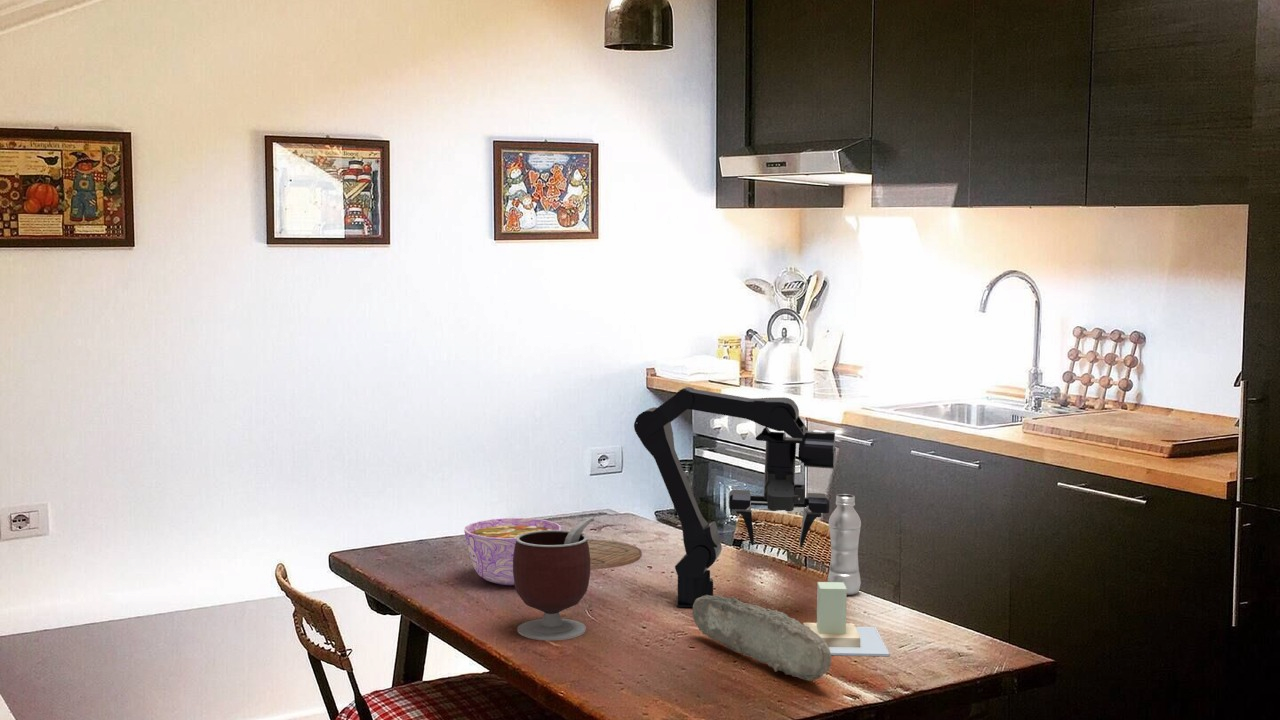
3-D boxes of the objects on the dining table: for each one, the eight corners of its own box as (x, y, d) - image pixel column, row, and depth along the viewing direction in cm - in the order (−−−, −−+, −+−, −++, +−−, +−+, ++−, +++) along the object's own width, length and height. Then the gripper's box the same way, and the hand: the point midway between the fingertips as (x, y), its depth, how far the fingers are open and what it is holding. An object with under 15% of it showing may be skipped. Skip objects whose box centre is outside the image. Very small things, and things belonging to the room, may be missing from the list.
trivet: (599, 579, 272) (599, 570, 271) (506, 563, 285) (506, 555, 285) (663, 556, 292) (663, 548, 292) (573, 542, 306) (573, 534, 306)
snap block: (819, 633, 226) (820, 588, 225) (816, 626, 231) (817, 582, 230) (845, 634, 226) (846, 589, 225) (842, 626, 230) (843, 582, 230)
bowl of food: (446, 589, 262) (445, 533, 261) (493, 567, 280) (493, 514, 279) (534, 600, 254) (534, 542, 253) (577, 576, 273) (577, 522, 272)
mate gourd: (535, 647, 224) (535, 533, 222) (499, 627, 236) (499, 518, 234) (612, 633, 232) (612, 523, 230) (574, 615, 244) (574, 510, 242)
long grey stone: (682, 640, 229) (683, 585, 228) (706, 635, 232) (706, 580, 231) (819, 696, 200) (820, 633, 199) (844, 690, 203) (845, 627, 202)
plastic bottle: (840, 600, 255) (842, 500, 254) (820, 592, 261) (822, 494, 260) (867, 596, 258) (869, 497, 257) (846, 588, 264) (848, 491, 263)
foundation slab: (807, 646, 224) (808, 637, 224) (803, 631, 233) (803, 622, 233) (860, 647, 224) (860, 638, 223) (853, 632, 233) (853, 623, 232)
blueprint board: (783, 654, 221) (783, 652, 221) (776, 627, 236) (776, 625, 236) (889, 656, 220) (889, 653, 220) (875, 628, 236) (875, 626, 236)
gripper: (731, 470, 237) (728, 554, 239) (834, 474, 236) (830, 558, 238) (730, 460, 248) (727, 540, 250) (828, 464, 248) (824, 544, 249)
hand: (776, 546), depth 246 cm, fingers open, 9 cm apart
